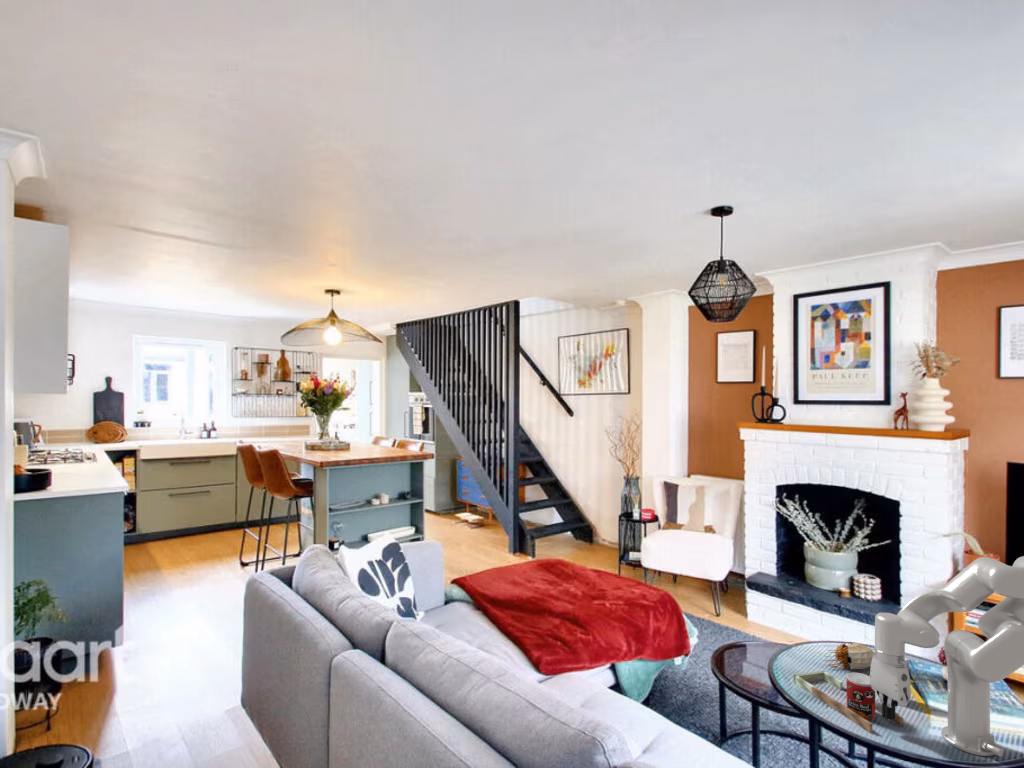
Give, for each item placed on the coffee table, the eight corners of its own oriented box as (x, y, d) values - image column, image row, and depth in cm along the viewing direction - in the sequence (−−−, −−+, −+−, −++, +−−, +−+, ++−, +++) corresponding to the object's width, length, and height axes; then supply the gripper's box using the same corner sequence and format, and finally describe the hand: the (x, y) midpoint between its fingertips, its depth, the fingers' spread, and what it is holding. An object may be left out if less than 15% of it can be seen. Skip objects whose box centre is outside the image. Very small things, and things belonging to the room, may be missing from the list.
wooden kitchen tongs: (914, 724, 169) (914, 716, 169) (869, 732, 165) (869, 724, 165) (833, 676, 198) (833, 669, 198) (793, 682, 194) (793, 675, 194)
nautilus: (835, 678, 198) (808, 660, 213) (890, 671, 200) (859, 654, 215) (833, 655, 199) (806, 639, 214) (887, 649, 201) (858, 634, 216)
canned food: (844, 713, 175) (844, 678, 175) (849, 703, 181) (849, 669, 181) (872, 723, 170) (872, 687, 170) (877, 712, 175) (877, 677, 176)
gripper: (923, 667, 160) (922, 731, 159) (876, 644, 174) (875, 702, 174) (903, 670, 158) (902, 734, 157) (857, 646, 172) (856, 705, 172)
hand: (888, 717), depth 166 cm, fingers closed
